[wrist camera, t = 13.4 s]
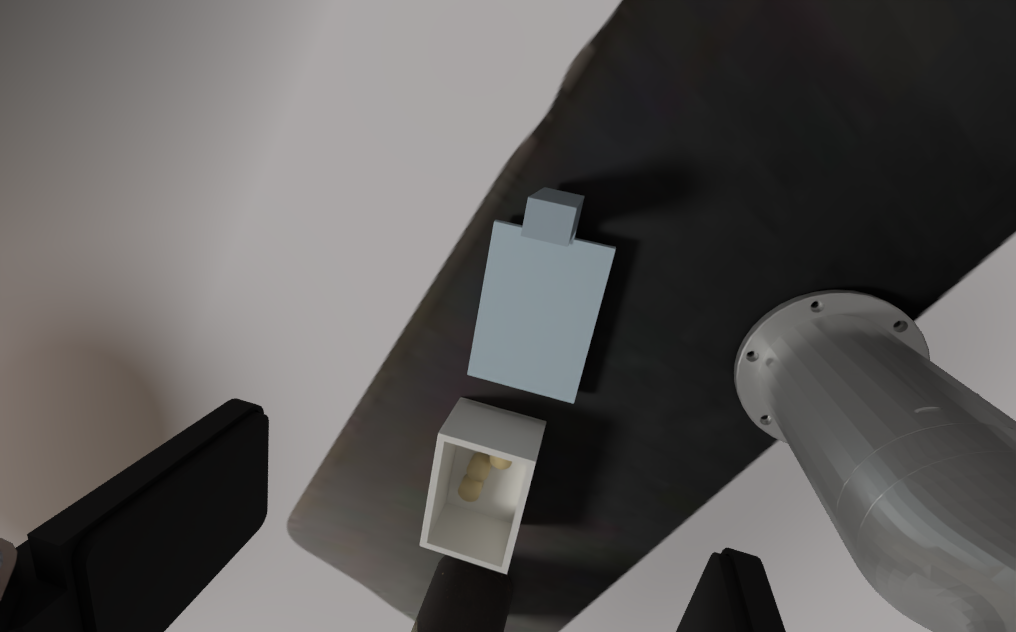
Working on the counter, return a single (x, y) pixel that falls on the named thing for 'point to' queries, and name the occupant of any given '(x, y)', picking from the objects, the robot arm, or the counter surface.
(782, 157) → the counter surface
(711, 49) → the counter surface
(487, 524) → the tub
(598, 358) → the counter surface
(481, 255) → the counter surface
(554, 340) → the lid
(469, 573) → the container
